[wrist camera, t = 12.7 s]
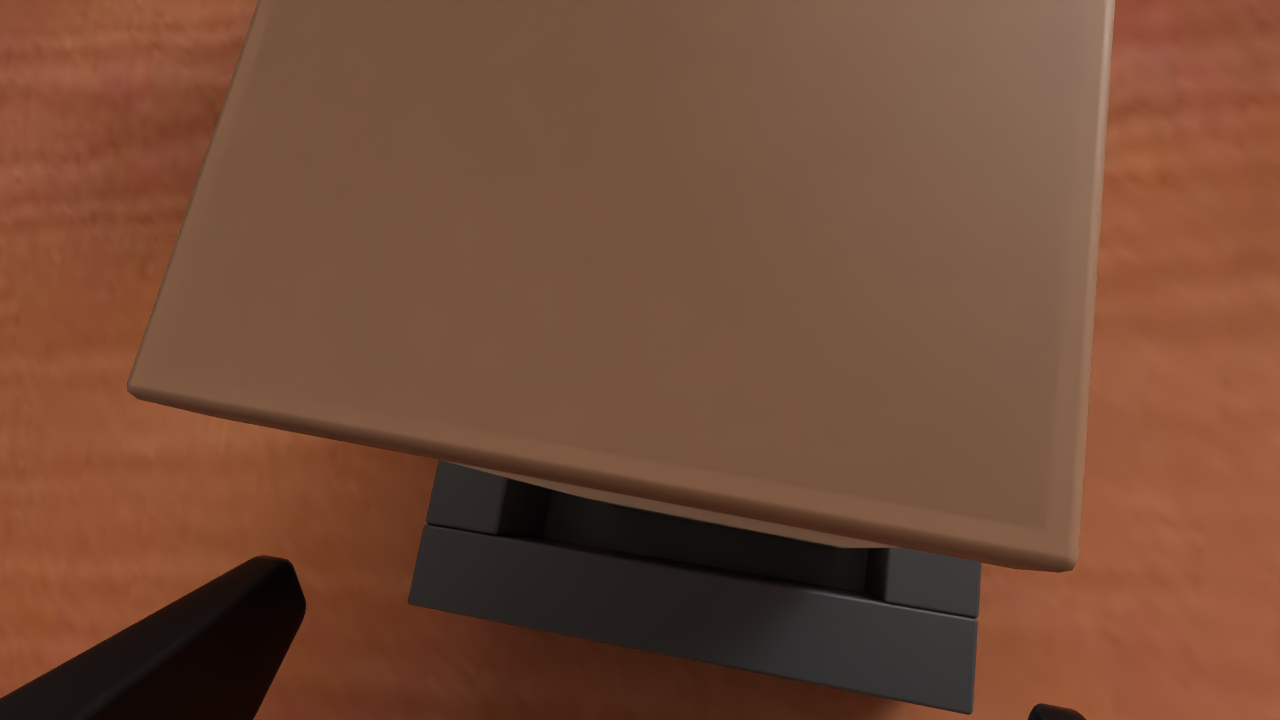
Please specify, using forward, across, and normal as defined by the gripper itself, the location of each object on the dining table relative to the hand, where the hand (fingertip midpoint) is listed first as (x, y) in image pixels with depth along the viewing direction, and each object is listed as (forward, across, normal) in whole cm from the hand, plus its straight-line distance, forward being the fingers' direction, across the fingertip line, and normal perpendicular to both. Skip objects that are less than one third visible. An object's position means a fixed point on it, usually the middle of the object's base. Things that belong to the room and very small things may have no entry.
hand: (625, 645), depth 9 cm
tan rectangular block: (+8, 0, +2) cm, 8 cm away
